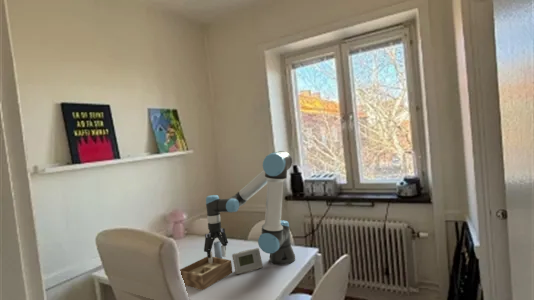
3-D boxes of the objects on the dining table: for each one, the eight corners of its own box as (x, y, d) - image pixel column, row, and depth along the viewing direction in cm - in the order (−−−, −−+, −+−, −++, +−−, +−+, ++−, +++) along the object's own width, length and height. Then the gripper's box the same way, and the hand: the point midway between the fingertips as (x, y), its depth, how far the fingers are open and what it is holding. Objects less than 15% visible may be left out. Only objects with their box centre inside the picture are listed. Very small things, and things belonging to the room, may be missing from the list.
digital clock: (234, 275, 174) (232, 256, 174) (233, 269, 183) (231, 251, 182) (264, 270, 177) (262, 251, 177) (261, 264, 186) (259, 246, 186)
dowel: (224, 265, 190) (221, 241, 189) (219, 267, 187) (217, 244, 186) (219, 264, 192) (217, 241, 192) (214, 266, 189) (212, 243, 189)
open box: (232, 272, 178) (231, 260, 178) (202, 290, 160) (200, 276, 160) (209, 267, 189) (208, 255, 188) (179, 283, 171) (177, 270, 171)
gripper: (223, 217, 199) (226, 252, 200) (195, 226, 181) (198, 265, 182) (232, 217, 195) (235, 254, 196) (204, 227, 177) (207, 267, 177)
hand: (217, 259), depth 189 cm, fingers open, 10 cm apart
